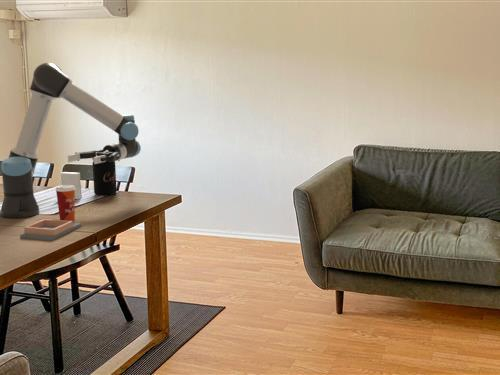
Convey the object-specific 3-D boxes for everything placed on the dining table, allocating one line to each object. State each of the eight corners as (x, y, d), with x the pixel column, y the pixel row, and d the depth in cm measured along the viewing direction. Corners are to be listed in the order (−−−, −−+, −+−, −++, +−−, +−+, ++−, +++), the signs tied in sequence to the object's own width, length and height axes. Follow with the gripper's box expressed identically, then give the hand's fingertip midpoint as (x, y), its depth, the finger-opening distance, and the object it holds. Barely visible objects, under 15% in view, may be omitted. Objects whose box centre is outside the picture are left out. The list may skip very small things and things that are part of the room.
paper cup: (71, 223, 243) (69, 188, 240) (53, 222, 245) (51, 187, 242) (80, 218, 251) (78, 184, 248) (63, 217, 252) (61, 184, 249)
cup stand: (20, 237, 223) (19, 228, 222) (52, 224, 242) (51, 215, 241) (51, 240, 219) (50, 231, 219) (81, 226, 238) (80, 217, 238)
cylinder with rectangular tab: (57, 199, 285) (56, 174, 283) (68, 195, 294) (67, 170, 291) (74, 200, 283) (73, 175, 280) (85, 196, 291) (83, 171, 289)
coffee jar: (105, 197, 289) (103, 159, 286) (89, 194, 295) (87, 157, 291) (121, 193, 298) (119, 156, 295) (105, 190, 304) (103, 154, 300)
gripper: (137, 162, 266) (106, 170, 247) (92, 159, 276) (58, 166, 258) (136, 145, 264) (105, 152, 245) (91, 142, 275) (57, 149, 256)
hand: (81, 159), depth 252 cm, fingers open, 13 cm apart
